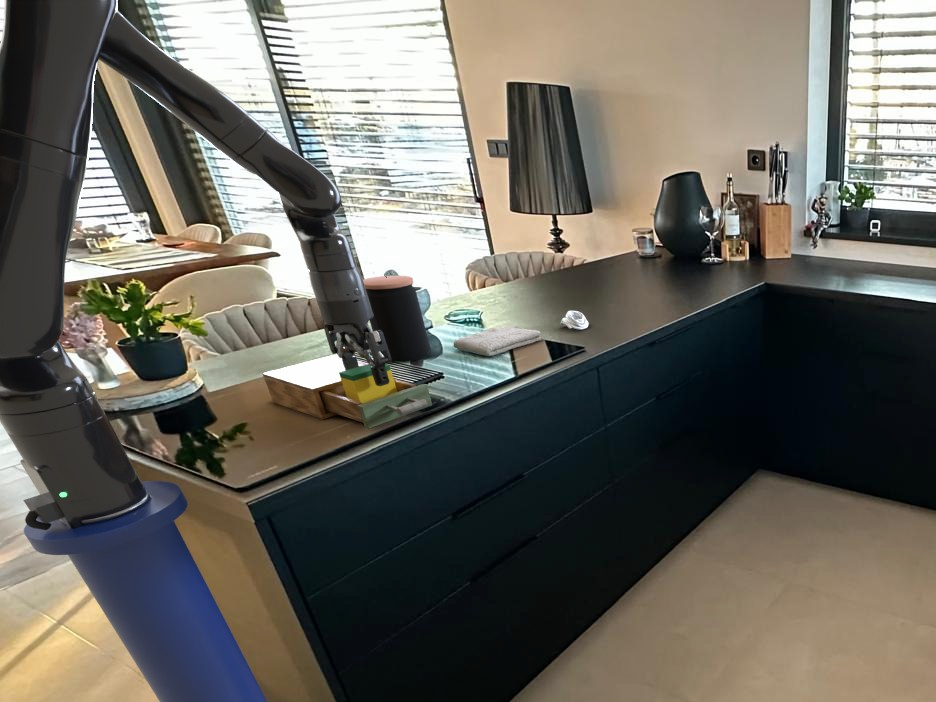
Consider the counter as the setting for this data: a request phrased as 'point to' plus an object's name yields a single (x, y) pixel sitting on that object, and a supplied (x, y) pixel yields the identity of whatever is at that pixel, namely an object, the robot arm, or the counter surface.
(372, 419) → the drawer
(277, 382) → the cabinet
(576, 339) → the counter surface
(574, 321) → the whipped cream
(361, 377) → the sponge
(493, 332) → the washcloth
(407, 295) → the coffee jar
